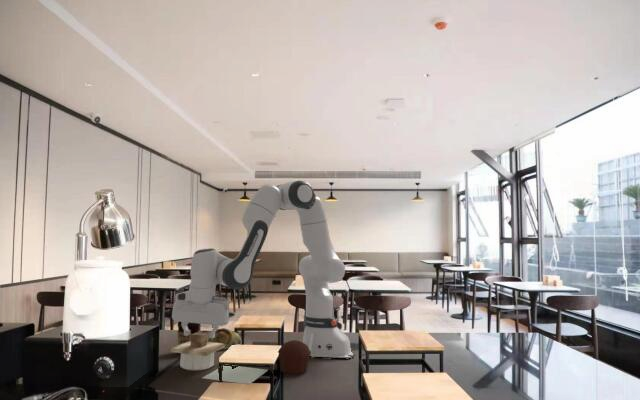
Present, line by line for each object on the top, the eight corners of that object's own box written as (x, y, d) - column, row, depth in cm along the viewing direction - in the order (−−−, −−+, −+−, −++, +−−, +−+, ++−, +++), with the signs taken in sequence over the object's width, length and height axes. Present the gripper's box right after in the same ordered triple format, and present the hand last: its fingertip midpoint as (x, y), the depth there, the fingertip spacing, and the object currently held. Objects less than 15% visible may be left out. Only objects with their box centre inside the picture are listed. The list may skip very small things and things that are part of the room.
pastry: (207, 351, 167) (208, 330, 168) (206, 343, 179) (207, 324, 180) (243, 350, 171) (244, 329, 172) (240, 343, 183) (241, 324, 184)
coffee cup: (191, 356, 158) (193, 320, 159) (170, 354, 159) (173, 319, 161) (202, 351, 166) (204, 317, 168) (182, 349, 168) (185, 315, 169)
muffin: (301, 379, 138) (303, 347, 139) (271, 374, 142) (272, 343, 143) (314, 369, 149) (316, 340, 150) (286, 365, 153) (287, 336, 154)
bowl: (219, 365, 149) (220, 347, 150) (203, 374, 139) (204, 355, 139) (190, 361, 152) (192, 344, 152) (173, 370, 141) (174, 351, 142)
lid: (224, 347, 150) (225, 332, 151) (206, 356, 138) (207, 339, 138) (191, 343, 154) (192, 328, 154) (170, 352, 141) (171, 335, 142)
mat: (268, 371, 144) (268, 369, 144) (249, 386, 129) (249, 384, 129) (225, 366, 148) (225, 364, 148) (201, 379, 133) (201, 378, 133)
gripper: (233, 296, 148) (231, 337, 147) (181, 292, 153) (178, 332, 152) (225, 298, 142) (222, 341, 141) (171, 294, 147) (167, 335, 146)
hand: (199, 336), depth 146 cm, fingers open, 8 cm apart
